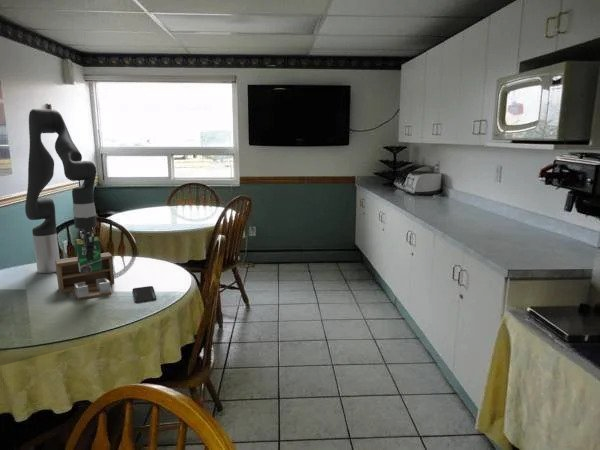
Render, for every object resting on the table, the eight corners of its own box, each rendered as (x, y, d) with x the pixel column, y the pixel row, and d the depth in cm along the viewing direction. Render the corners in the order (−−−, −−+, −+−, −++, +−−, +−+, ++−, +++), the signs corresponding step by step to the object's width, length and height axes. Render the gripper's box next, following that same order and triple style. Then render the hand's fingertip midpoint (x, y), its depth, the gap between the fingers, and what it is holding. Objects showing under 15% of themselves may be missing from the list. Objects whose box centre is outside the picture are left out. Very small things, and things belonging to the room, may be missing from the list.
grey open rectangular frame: (74, 293, 167) (73, 283, 167) (106, 287, 174) (106, 277, 173) (77, 298, 162) (76, 288, 162) (110, 291, 169) (109, 282, 168)
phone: (152, 285, 176) (156, 298, 163) (152, 288, 176) (156, 301, 163) (132, 288, 173) (134, 301, 160) (132, 291, 173) (134, 304, 160)
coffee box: (79, 274, 163) (76, 240, 160) (78, 272, 165) (74, 239, 163) (102, 270, 168) (99, 237, 165) (100, 268, 170) (97, 236, 167)
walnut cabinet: (58, 288, 175) (55, 260, 172) (111, 279, 186) (108, 252, 184) (65, 302, 160) (62, 271, 157) (122, 291, 171) (119, 262, 169)
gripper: (70, 213, 165) (75, 256, 169) (77, 218, 154) (82, 265, 158) (91, 211, 170) (96, 253, 173) (99, 216, 159) (104, 261, 162)
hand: (89, 258), depth 165 cm, fingers closed on coffee box, 3 cm apart
